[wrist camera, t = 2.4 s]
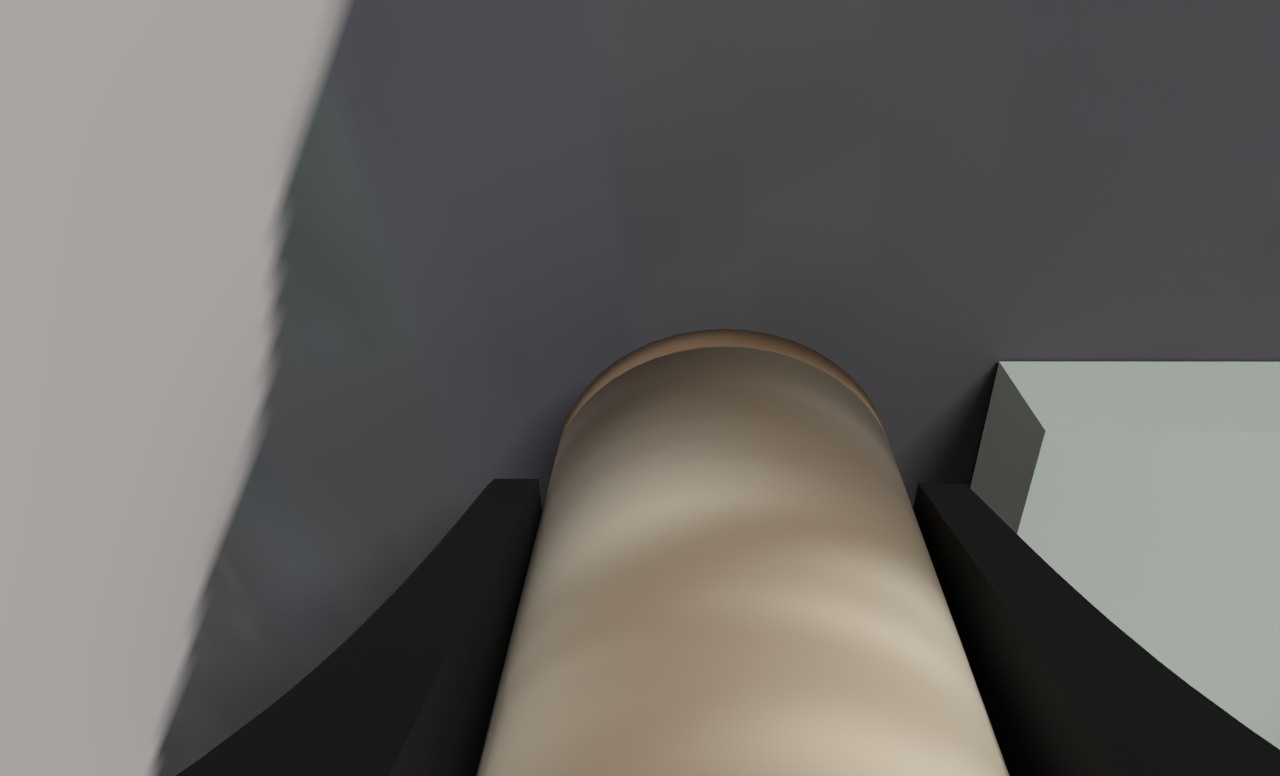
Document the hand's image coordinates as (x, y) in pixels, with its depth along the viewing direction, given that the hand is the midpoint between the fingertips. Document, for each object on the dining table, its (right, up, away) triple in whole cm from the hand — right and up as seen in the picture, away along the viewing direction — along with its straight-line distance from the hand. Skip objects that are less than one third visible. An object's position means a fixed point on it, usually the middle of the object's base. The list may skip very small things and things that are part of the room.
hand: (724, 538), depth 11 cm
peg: (0, +2, +3) cm, 3 cm away
